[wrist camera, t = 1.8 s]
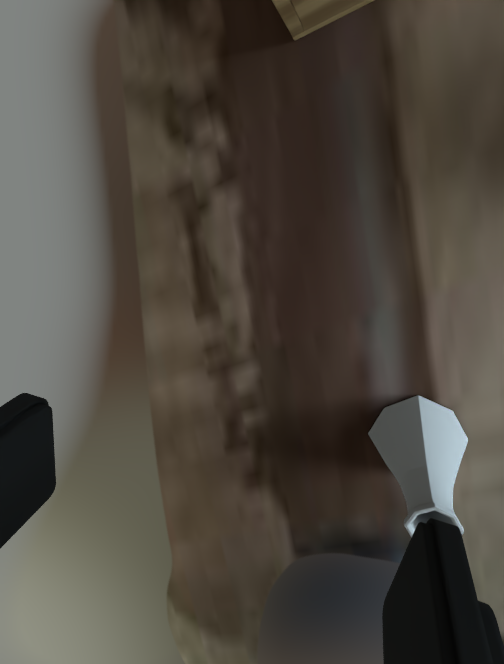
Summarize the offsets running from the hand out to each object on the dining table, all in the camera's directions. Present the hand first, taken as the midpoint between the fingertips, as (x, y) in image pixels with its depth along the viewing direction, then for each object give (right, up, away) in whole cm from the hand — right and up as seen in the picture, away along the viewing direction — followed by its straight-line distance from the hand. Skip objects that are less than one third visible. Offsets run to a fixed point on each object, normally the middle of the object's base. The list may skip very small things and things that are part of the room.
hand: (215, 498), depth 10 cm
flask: (+15, -4, +24) cm, 29 cm away
